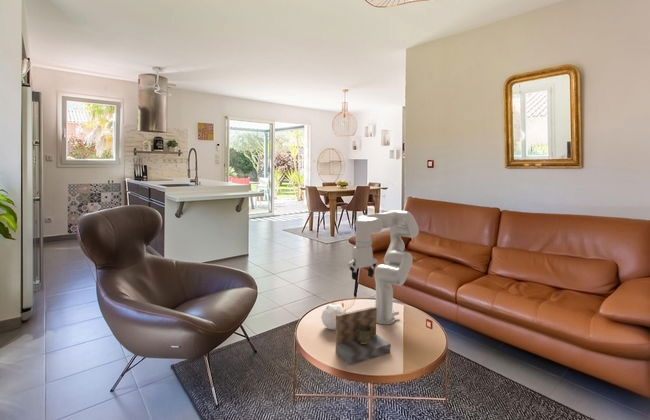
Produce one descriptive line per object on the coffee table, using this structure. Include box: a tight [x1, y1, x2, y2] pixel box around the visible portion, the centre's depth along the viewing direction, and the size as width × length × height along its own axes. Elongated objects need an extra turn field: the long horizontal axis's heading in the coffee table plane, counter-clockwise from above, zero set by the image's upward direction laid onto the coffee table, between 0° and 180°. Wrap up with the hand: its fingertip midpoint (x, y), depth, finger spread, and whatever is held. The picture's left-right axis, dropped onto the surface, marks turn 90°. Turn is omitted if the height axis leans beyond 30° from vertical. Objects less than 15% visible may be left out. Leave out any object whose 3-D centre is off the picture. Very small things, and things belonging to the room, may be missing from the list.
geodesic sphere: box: [320, 303, 347, 331], centre depth 191 cm, size 14×14×14 cm
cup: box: [356, 324, 372, 345], centre depth 166 cm, size 8×7×8 cm
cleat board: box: [334, 306, 391, 366], centre depth 166 cm, size 22×12×18 cm, turn 119°
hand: (362, 277), depth 180 cm, fingers open, 9 cm apart
